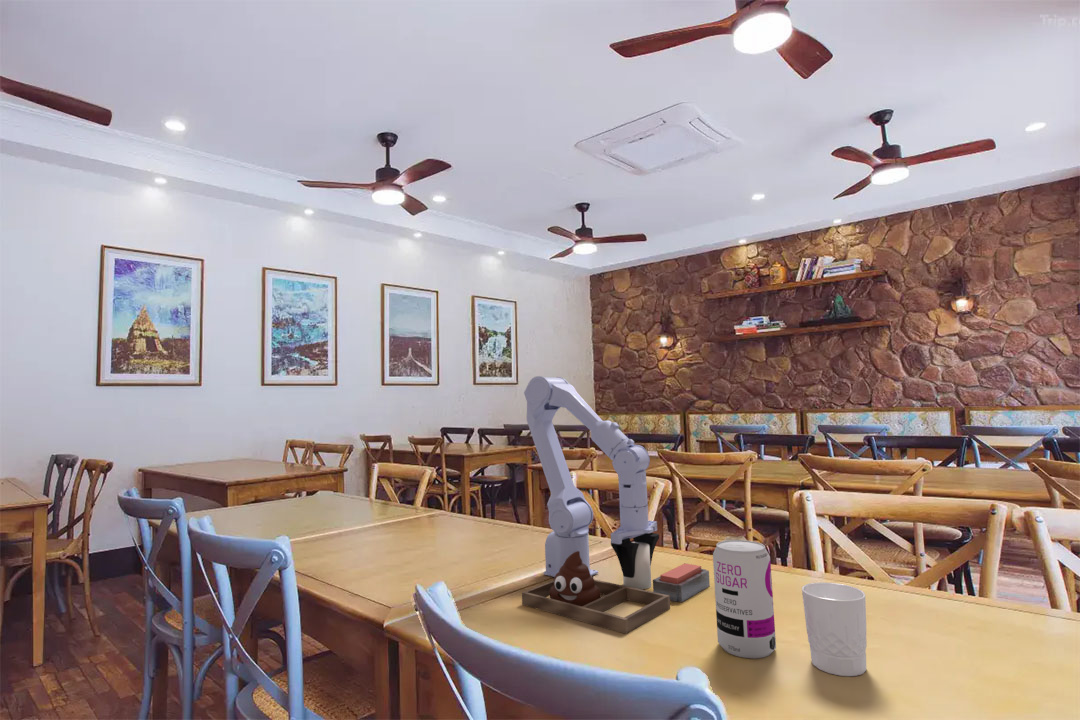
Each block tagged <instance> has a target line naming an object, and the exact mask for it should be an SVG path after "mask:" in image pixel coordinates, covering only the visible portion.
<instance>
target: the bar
mask: <svg viewBox="0 0 1080 720" xmlns="http://www.w3.org/2000/svg"><path fill="white" fill-rule="evenodd" d="M701 569H702V566H701V565H698V564H697V565H696V564H692V563H691V564H690V563H683V564H680V565H678V566H676V567H674V568H672V569H670V570H668V571H666V572H664V573H662V574H660V575H659V577H660V581H665V582H670V583H675V584H680V583H682V582H683V581H685V580H687V579H689V578H691V577H693V576H695V575H697V574H699V573H700V572H702V571H701Z"/></svg>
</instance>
